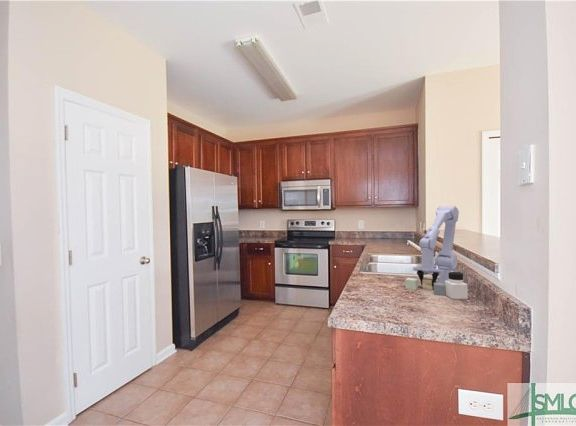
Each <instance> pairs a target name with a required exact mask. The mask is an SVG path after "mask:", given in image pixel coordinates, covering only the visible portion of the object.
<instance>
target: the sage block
mask: <svg viewBox="0 0 576 426" xmlns="http://www.w3.org/2000/svg"><path fill="white" fill-rule="evenodd" d="M418 288H419V280H418V278H412V277H407V278H405V289H406V290H413V291H416V290H418Z"/></svg>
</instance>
